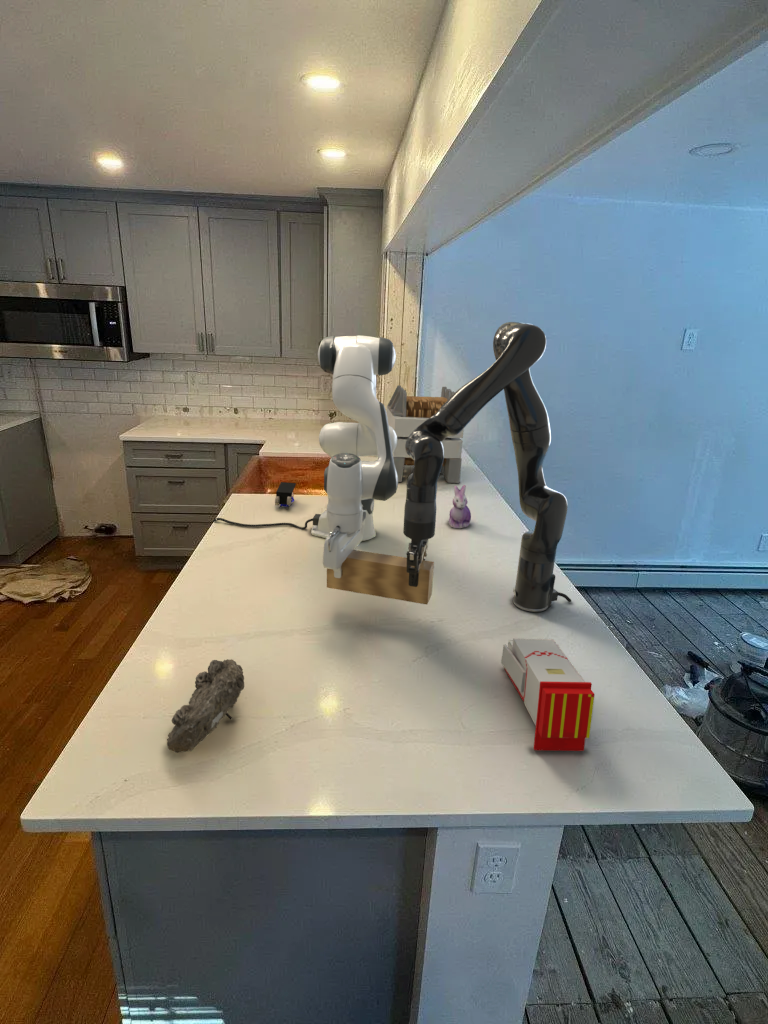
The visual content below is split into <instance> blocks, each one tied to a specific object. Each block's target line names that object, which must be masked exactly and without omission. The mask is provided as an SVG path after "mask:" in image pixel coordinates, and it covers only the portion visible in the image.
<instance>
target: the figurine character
mask: <svg viewBox="0 0 768 1024" xmlns="http://www.w3.org/2000/svg"><path fill="white" fill-rule="evenodd" d="M296 485H297V483H296V482H286V481H285V482H284V481H280V483H279V486H278V487H277V490H276V491H275V497H274V498H275V499H274V506H278V509H279V510H282V507H285V508H286V510H288V509H289V507H290V506H292V503H294V502H295V499H294V497H295V493H294V490H295V487H296Z"/></svg>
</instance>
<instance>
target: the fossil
mask: <svg viewBox="0 0 768 1024" xmlns="http://www.w3.org/2000/svg"><path fill="white" fill-rule="evenodd" d="M243 670H244V669H243V667H242V665H240V664H237V662H236V661H235V660H234V659H232V658H231V659H227V658H226V659H224V660H223V661H222V660H217V659H212V660H211V661H210V663H209V665H208V666H207V671H201V672H199V673H198V674H197V675H196V676H195V680H194V684H195V685H194V687H195V689H194V690H193V693H192V694H191V697H190V698H189V700H188V704H184V705H182V706H181V707H180V709H177V710H176V711H175V713H174V715H173V716H172V718H171V723H172V724H173V727H172V730H171V731H170V732H168V734H167V738H166V741H167V742H166V745H167V749H168V750H169V751H173V752H174V753H176V754H178V753H182V752H188V751H189V752H192V751H193V750H195V748H196V747H197V746H199V744H200V743H201V742H203V741H204V740H205V739H206V738H207V737H208V736H209V735H210V734H211V733H212V732H214V730H215V729H217V727H218V726H219V724H220V722H221V721H222V720H223V719H224V718H225V716H226V717H227V719H229V720H233V717H232V715H230V714H229V710H230V709H231V708H234V706H235V704H236V703H237V702H238V699H239V697H240V695H241V693H242V691H243V690H245V689H244V688H245V675H244V671H243Z"/></svg>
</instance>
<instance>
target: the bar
mask: <svg viewBox="0 0 768 1024" xmlns="http://www.w3.org/2000/svg"><path fill="white" fill-rule="evenodd" d="M418 560H419V559H418ZM412 567H413V568H415V567H414V566H412ZM434 568H435V562H434V561H430V560H423V562H422V563H421V564H420V569H419V570H420V571H419V577H418V586H417V587H413V586H409V573H407V571H406V570H407V557H405V556H398V555H392V554H384V553H379V552H372V551H365V550H359V549H355V550H353V551H352V552H351V553H350V555H349V556H348V557H347V558H346V560H345V561H344V562H343V563H342V566H341V570H343V575H342V576H341V578H335V577H334V570H333V569H327V568H326V589H333V590H340V591H345V592H350V593H355V594H362V595H369V596H374V597H380V598H386V599H391V600H397V601H404V602H408V603H416V604H421V605H428V604H429V602H430V599H431V598H432V595H433V581H434Z"/></svg>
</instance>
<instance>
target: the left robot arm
mask: <svg viewBox="0 0 768 1024" xmlns="http://www.w3.org/2000/svg"><path fill="white" fill-rule="evenodd" d="M396 353H397V352H396V349H395V347H394V343H393V341H392V340H391V339H389V338H386V337H382V336H380V337H377V336H375V337H374V336H369V335H359V334H357V335H346V336H345V335H344V336H343V335H342V336H335V335H330V336H326V337H324V338H323V339H322V340H321V341H320V344H319V346H318V351H317V360H318V364H319V367H320V369H321V370H322V371H323V372H325V373H327V374H329V375H332V381H331V383H332V384H331V387H332V388H331V393H332V394H331V397H332V402H333V405H334V406H335V408H336V409H337V410H338V411H339V413H341V414H342V415H343V416H345V417H346V418H349V419H351V420H353V421H355V422H348V421H336V422H330V423H325V424H324V425H323V426H322V427H321V429H320V431H319V434H318V442H319V446H320V448H321V450H322V451H323V452H324V453H325V454H327V455H328V456H329V457H330V459H329V463H328V466H326V467H325V469H324V472H323V490H324V491H325V493H326V495H327V504H326V509H325V510H323V512H321V513H315V514H314V515H313V517H312V518H309V519H307V520H306V521H305V522H304V526H303V527H301V526H299V525H297V524H294V523H291V522H275V523H274V522H273V523H261V524H260V523H259V524H250V523H249V524H247V523H241V522H235V521H231V520H228V519H225V518H222V517H217V518H213V520H212V523H215V522H217V521H221V522H224V523H227V524H229V525H236V526H239V527H245V528H246V527H247V528H262V527H263V528H264V527H275V526H276V527H277V526H291V527H293V528H296V529H299V530H306V529H307V528H308V524H309V523H310V522H312V528H311V530H310V533H311V536H315V537H319V538H323V539H325V541H324V542H323V553H322V566H323V568H325V569H326V570H327V569H333V570H334V577H335V578H341V576H342V575H343V570H341V566H342V563H343V562H344V561H345V560H346V558H347V557H348V556H349V555H350V553H351V552H352V551H353V550H356V548H357V547H358V546H359V545H360V544H361V542H365V541H368V540H372V539H373V538H375V537H376V535H377V532H376V528H375V523H374V513H373V512H374V509H375V501H382V502H386V501H388V500H389V499H391V498H393V496H395V495H396V494H397V491H398V488H399V487H398V486H399V482H398V475H397V471H396V468H395V465H394V460H393V452H394V450H395V449H396V446H397V435H396V433H395V431H394V429H393V428H392V427H391V426H389V425H388V419H387V413H386V412H387V408H386V407H385V404H384V403H383V402H381V401H379V399H378V398H377V375H378V376H379V377H381V376H386V375H389V374H390V373H391V372H392V371H393V368H394V366H395V364H396V360H397V359H396V358H397V354H396ZM360 457H364V458H365V457H366V458H377V460H361V459H362V458H360ZM216 519H217V520H216Z"/></svg>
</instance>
